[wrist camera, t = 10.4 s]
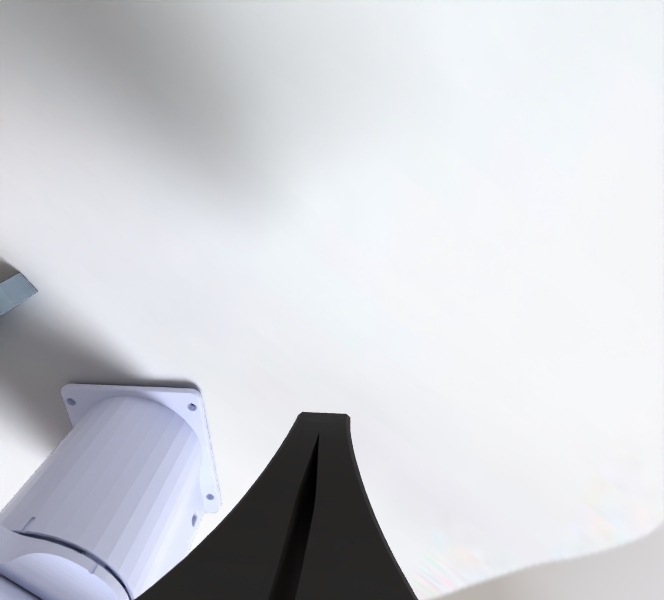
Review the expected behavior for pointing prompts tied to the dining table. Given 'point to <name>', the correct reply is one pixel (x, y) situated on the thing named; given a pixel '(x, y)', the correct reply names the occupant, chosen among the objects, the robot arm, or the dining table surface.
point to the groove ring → (14, 292)
